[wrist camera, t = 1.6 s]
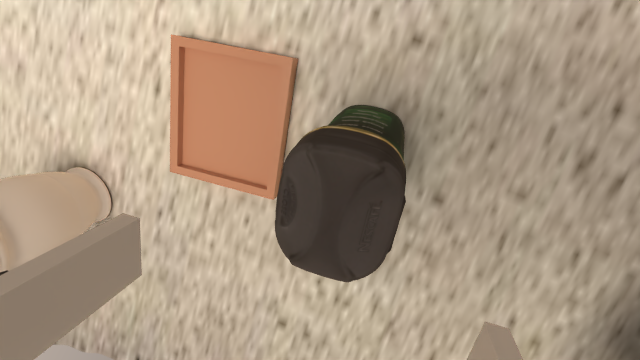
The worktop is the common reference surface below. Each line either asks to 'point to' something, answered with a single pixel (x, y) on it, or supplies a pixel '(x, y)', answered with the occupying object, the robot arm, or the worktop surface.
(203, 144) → the tray
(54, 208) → the jar
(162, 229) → the worktop surface
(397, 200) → the coffee jar
